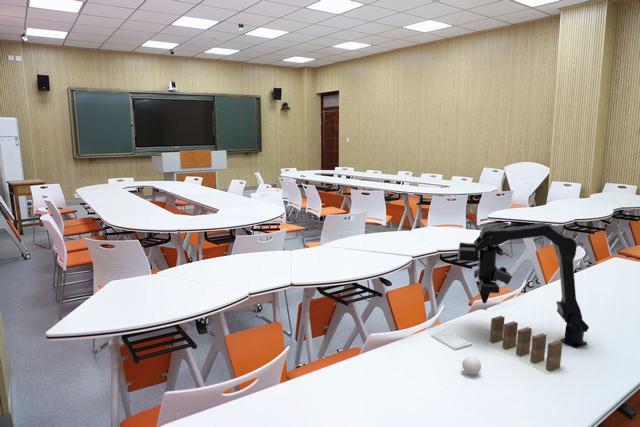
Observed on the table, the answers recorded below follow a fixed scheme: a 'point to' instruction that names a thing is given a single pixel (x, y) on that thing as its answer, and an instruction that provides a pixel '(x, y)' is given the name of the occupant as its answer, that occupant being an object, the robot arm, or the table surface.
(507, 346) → the domino
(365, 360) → the table surface
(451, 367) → the table surface
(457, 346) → the hard drive
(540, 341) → the domino
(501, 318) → the domino
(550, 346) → the domino
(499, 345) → the mat
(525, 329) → the domino
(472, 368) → the white sphere
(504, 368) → the table surface
